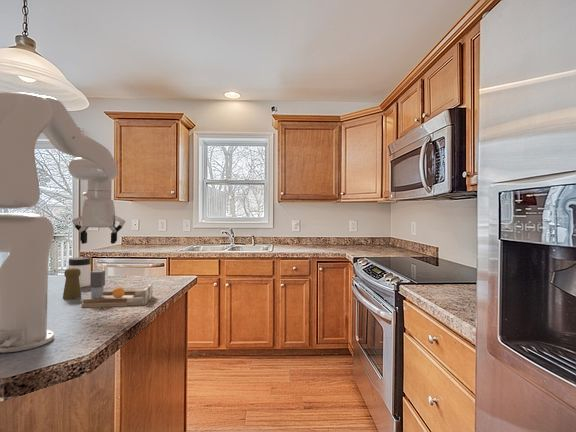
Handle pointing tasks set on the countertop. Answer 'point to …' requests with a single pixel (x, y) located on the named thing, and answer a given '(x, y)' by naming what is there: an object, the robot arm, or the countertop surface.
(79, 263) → the jar
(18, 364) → the countertop surface
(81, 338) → the countertop surface
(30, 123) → the robot arm
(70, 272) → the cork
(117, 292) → the ball
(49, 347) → the countertop surface
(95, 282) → the grey stepped block
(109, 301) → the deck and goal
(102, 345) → the countertop surface
